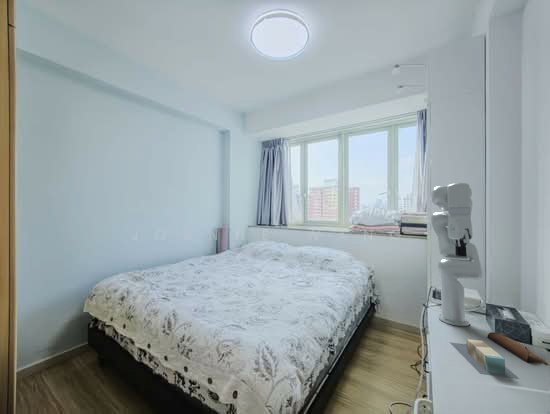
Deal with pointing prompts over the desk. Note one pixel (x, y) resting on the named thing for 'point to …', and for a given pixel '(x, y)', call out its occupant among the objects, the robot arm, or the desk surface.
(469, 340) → the wooden block
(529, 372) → the desk surface
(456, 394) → the desk surface
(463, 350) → the charcoal mat
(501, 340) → the sunglasses case
